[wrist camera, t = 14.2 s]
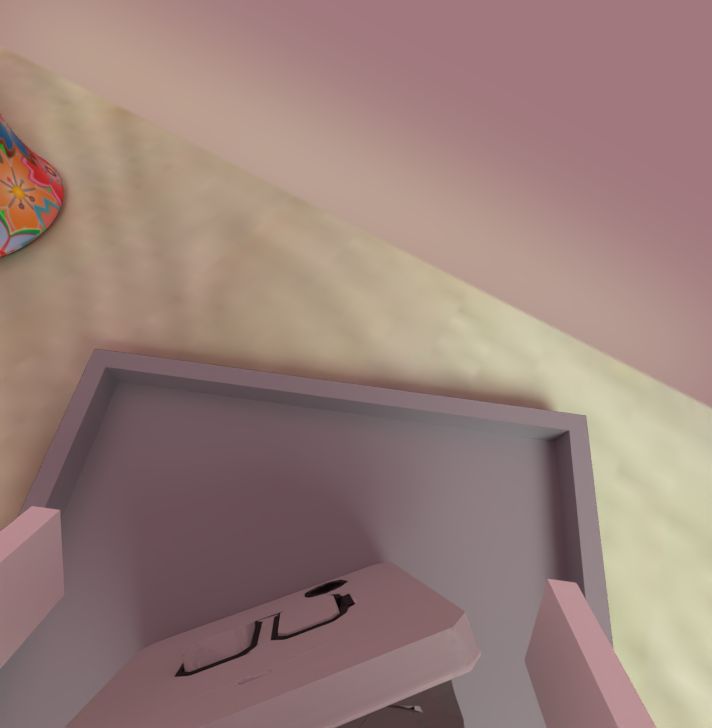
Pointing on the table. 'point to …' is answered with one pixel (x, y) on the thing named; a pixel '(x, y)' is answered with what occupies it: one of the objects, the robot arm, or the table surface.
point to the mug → (24, 192)
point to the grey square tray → (297, 518)
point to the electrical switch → (303, 663)
